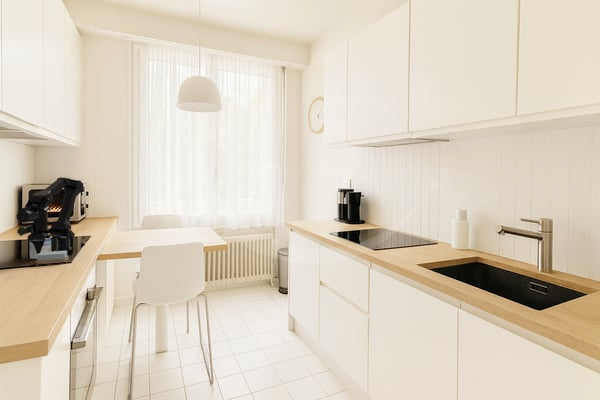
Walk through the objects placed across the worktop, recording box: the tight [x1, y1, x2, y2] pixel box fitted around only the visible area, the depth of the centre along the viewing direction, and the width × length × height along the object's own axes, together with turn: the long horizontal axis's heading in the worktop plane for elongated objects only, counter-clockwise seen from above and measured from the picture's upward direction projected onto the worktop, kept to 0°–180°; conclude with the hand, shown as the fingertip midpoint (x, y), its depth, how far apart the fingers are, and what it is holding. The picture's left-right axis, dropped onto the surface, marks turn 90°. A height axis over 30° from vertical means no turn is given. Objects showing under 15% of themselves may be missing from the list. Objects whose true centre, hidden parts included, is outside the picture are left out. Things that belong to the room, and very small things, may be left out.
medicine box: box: [29, 237, 52, 260], centre depth 159 cm, size 8×4×9 cm, turn 179°
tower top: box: [37, 250, 68, 261], centre depth 151 cm, size 6×10×2 cm, turn 118°
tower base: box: [35, 255, 69, 266], centre depth 151 cm, size 7×11×2 cm, turn 118°
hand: (40, 251), depth 159 cm, fingers open, 9 cm apart
